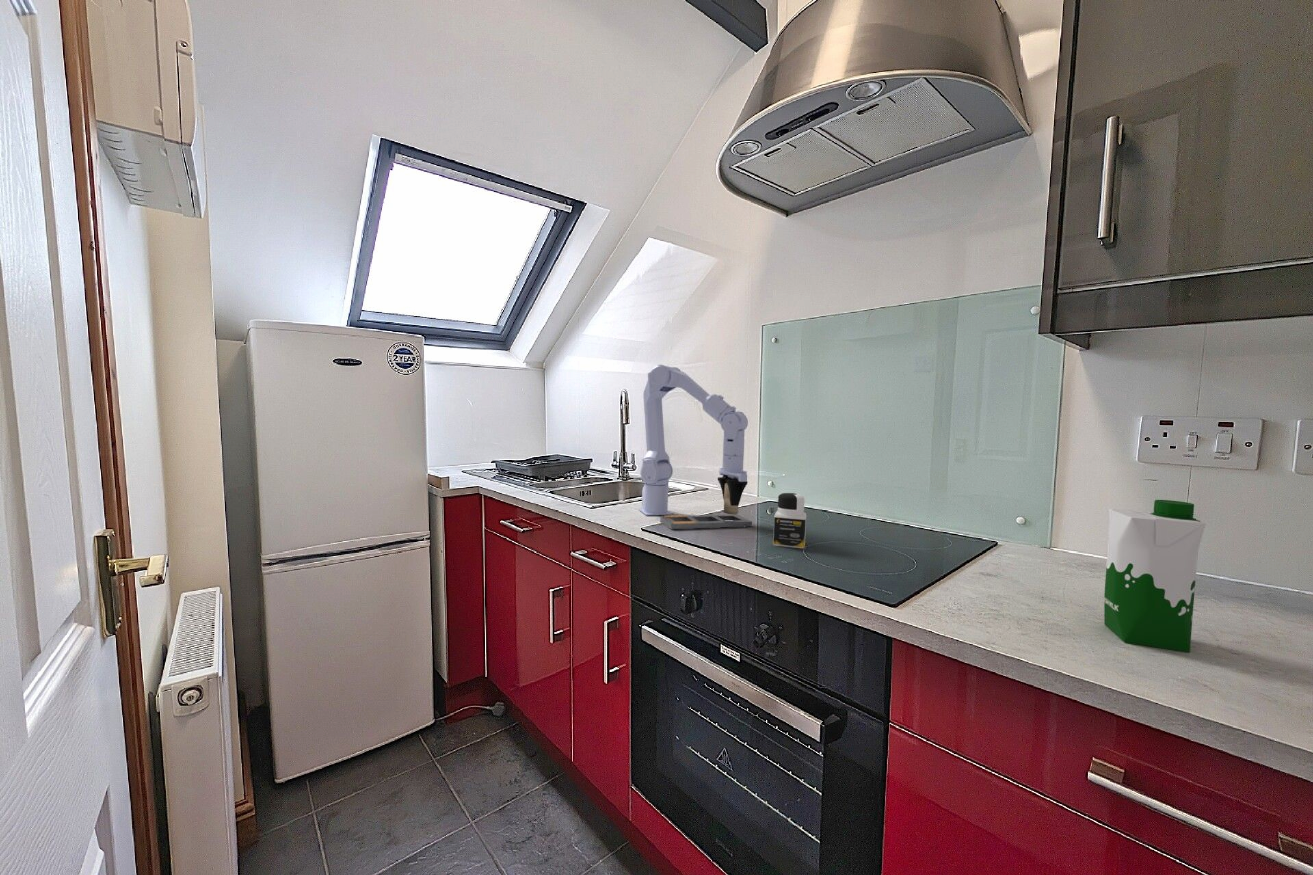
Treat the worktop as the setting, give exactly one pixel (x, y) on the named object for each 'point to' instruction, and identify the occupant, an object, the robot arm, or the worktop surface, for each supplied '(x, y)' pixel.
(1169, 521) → the milk carton
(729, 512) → the peg
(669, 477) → the robot arm
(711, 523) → the gray compartment tray
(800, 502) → the medicine bottle
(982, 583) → the worktop surface
